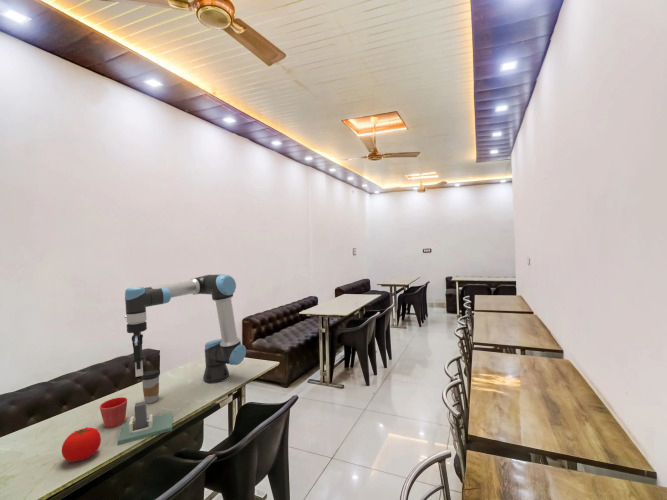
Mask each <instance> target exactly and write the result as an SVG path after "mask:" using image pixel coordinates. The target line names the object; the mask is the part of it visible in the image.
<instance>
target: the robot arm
mask: <svg viewBox="0 0 667 500" xmlns="http://www.w3.org/2000/svg"><path fill="white" fill-rule="evenodd" d="M236 289H237V283H236V280H235V279H234V278H233V277H232V276H231V275H229V274H225V273H223V274H222V273H221V274H206V275H203V276H198V277H192V278H190V279H189V280H185V281H177V282H172V283H165V284H160V285H155V286H148V287H144V286H136V287H135V286H134V287H128V288H126V289H125V291H124V300H125V301H124V303H125V316H124V319H126V333H127V334H132V335H131V342H132V349H133V351H132V352H133V359H134V360H132V363H134V366H135V367H134V369H135V378H137V377H142V376H143V373H144V368H143V367H144V366H143V365H144V364H143V360H144V359H145V357H144V356H143V337H144V335H143V333H142V332H145V331H147V328H148V327H147V326H148V325H147V323H148V322H147V308H148V307H153V306H159V305H160V306H161V305H164V304H168V303H169V302H170V301H171V300H172V298H177V297H181V296H187V295H193V296H195V295H196V296H197V295H211V299H212V301H214V302H215V305H216V306H215V307H216V312H217V318H218V324H219V331H220V336H221V337H220V338H219V339H213V340H210V341H208V342H206V343H205V345H204V358H205V370H204V372H203V375H202V376H203V377H202V381H203V382H204V383H205V384H215V383H216V384H217V383H220V382H223V380H224V381H226V380H227V378H228V377H229V378H230V370H229V367H228V366H227V365H231V366H237V365H240V364H241V363H242V362H243V361H244V359H245V358H246V355H247V348H246V346H245V345H244V344H243V343H242V342H241V339H240V338H239V337H238V334H237V329H236V328H237V327H236V322H235V316H234V310H233V309H234V307H233V304H232V298H233V297H234V293H235V292H236ZM241 343H242V344H241ZM229 378H228V379H229ZM225 379H226V380H225Z"/></svg>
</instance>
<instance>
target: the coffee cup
mask: <svg viewBox="0 0 667 500" xmlns="http://www.w3.org/2000/svg"><path fill="white" fill-rule="evenodd" d="M141 382H142V384H141V385H142V392H143V397H144V398H143V399H144V401H146V404H152V403H156V402H157V401H158V400H159V392H160V372H159V370H157V369H153V370H148V371H143V376H141Z"/></svg>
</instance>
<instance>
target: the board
mask: <svg viewBox="0 0 667 500" xmlns="http://www.w3.org/2000/svg"><path fill="white" fill-rule="evenodd" d="M134 420H135V415H133V416H130V419H129V422H126V423H122V424H121V428H120V432H119V435H118V439H117V440H116V442H117V446H118V445H122V444H126V443H130V442H133V441H137V440H141V439H142V440H143V439H146V438H149V437H152V436H156V435H160V434H163V433H168V432H172V431H173V412H172V411H170V412H167V413H164V414H159V415H154V414H153V413H151V414H149V417H147V427H146V428H142V429H138V430H136V428H134Z"/></svg>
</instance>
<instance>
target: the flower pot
mask: <svg viewBox="0 0 667 500" xmlns="http://www.w3.org/2000/svg"><path fill="white" fill-rule="evenodd" d="M127 406H128V398H127V397H124V396H120V397H115V398H111V399H108V400H106V401H104V402H102V403H101V404H100V405H99V410H100V415H101V418H102V421H103V424H104V427H105V428H108V429H110V428H114V427H117V426H120V425H123V424H124V422H126V421H125V420H126V413H127V408H128V407H127Z"/></svg>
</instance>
